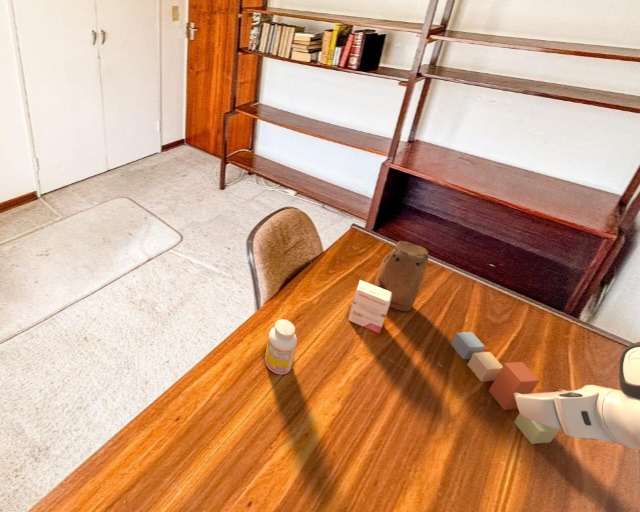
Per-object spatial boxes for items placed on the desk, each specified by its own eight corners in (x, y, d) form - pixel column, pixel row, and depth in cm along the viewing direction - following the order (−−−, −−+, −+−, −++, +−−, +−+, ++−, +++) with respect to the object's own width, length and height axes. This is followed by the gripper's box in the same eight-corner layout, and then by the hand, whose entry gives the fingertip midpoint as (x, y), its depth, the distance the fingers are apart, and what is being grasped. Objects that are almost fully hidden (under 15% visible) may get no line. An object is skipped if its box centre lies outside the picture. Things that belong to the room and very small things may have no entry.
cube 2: (483, 363, 101) (489, 351, 99) (497, 380, 97) (504, 368, 95) (467, 364, 101) (473, 352, 99) (480, 381, 96) (487, 369, 95)
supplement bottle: (276, 347, 103) (284, 311, 98) (296, 366, 98) (305, 330, 93) (258, 360, 99) (265, 323, 94) (278, 380, 95) (286, 343, 89)
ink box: (382, 322, 112) (393, 291, 106) (379, 335, 108) (391, 303, 103) (350, 309, 116) (359, 278, 111) (347, 320, 112) (356, 289, 107)
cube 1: (531, 420, 88) (540, 408, 86) (550, 442, 84) (559, 429, 82) (513, 422, 88) (521, 409, 86) (531, 444, 84) (540, 431, 82)
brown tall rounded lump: (410, 299, 120) (430, 247, 111) (410, 316, 114) (431, 262, 105) (372, 286, 125) (389, 234, 116) (370, 301, 118) (387, 249, 110)
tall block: (505, 389, 95) (522, 361, 91) (521, 408, 91) (540, 380, 86) (488, 391, 94) (504, 363, 90) (503, 410, 90) (521, 381, 86)
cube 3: (466, 343, 106) (471, 331, 104) (478, 358, 102) (485, 346, 100) (450, 344, 106) (456, 332, 104) (462, 359, 102) (469, 347, 100)
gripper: (650, 390, 74) (575, 375, 87) (552, 398, 72) (490, 381, 85) (665, 429, 72) (586, 408, 85) (565, 438, 70) (499, 415, 83)
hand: (537, 395), depth 85 cm, fingers open, 8 cm apart
